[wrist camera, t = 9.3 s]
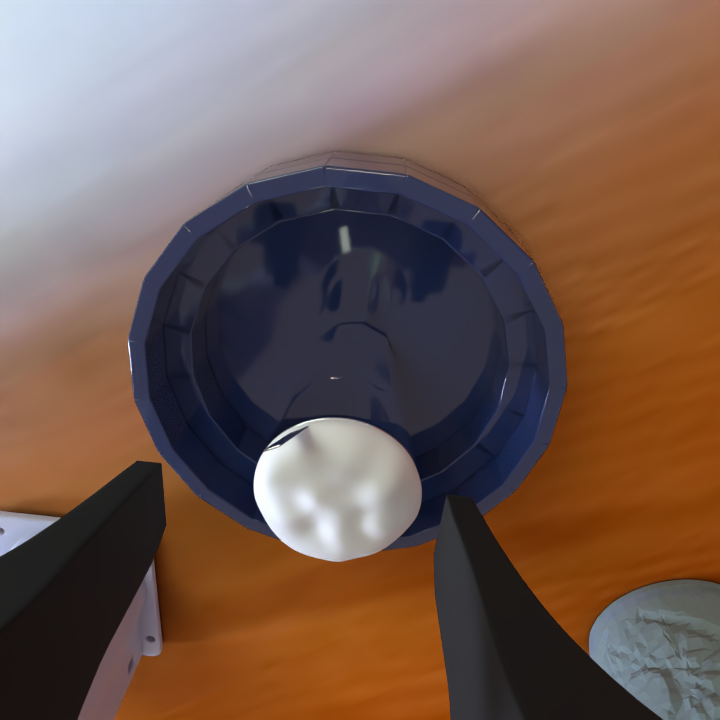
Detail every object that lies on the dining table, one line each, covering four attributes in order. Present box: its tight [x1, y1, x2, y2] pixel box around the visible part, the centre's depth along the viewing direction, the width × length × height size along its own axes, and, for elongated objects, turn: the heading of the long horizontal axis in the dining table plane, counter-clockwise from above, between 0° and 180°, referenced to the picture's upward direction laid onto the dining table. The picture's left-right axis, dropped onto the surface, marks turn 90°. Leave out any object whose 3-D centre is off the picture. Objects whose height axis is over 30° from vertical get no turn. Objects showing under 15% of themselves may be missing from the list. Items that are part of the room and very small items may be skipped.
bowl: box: [128, 152, 567, 551], centre depth 21 cm, size 15×15×4 cm
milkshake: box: [254, 323, 422, 562], centre depth 18 cm, size 5×5×10 cm
